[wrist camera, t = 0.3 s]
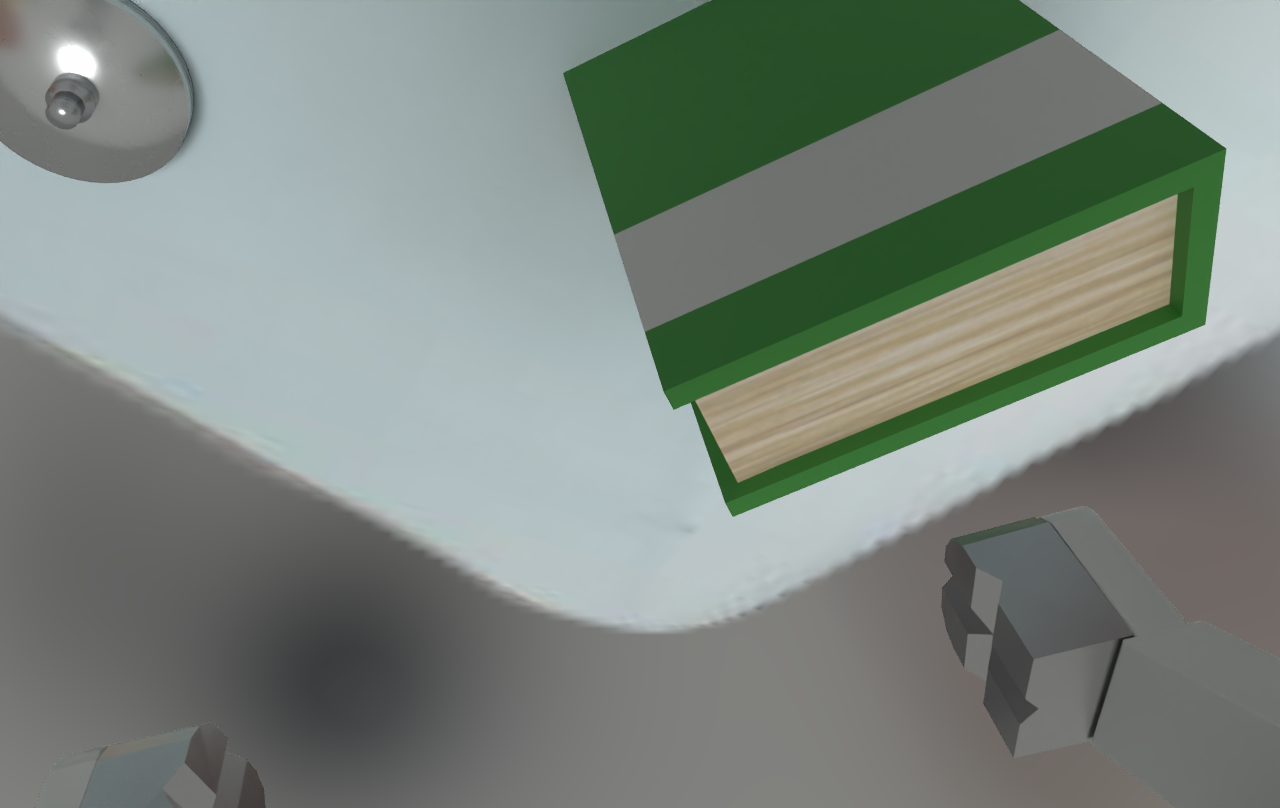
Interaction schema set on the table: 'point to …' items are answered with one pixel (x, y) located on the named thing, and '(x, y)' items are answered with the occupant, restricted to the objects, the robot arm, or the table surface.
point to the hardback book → (886, 220)
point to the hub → (91, 88)
